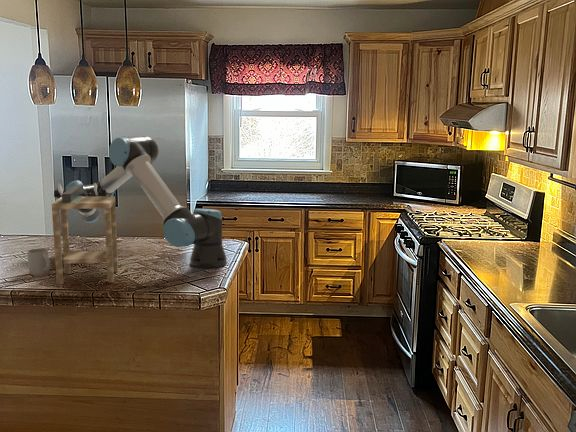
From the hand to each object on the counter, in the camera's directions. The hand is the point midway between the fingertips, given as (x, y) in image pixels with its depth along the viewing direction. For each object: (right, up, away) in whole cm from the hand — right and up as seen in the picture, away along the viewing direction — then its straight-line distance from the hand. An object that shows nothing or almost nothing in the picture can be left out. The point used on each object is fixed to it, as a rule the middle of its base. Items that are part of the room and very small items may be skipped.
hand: (76, 186), depth 228 cm
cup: (-13, -34, -2) cm, 37 cm away
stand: (+7, -35, -7) cm, 37 cm away
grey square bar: (+2, -4, -8) cm, 9 cm away
